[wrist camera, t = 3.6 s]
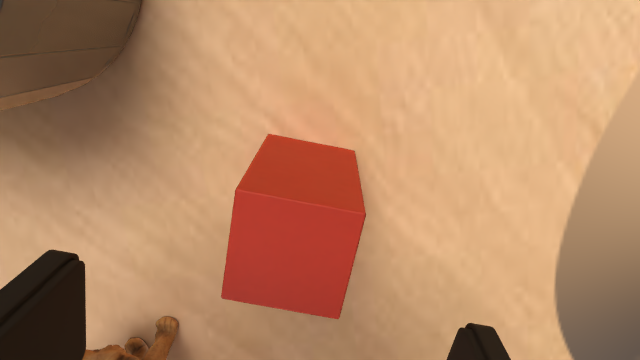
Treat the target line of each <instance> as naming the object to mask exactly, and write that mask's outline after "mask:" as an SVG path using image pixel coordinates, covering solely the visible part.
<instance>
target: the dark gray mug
mask: <svg viewBox="0 0 640 360" xmlns="http://www.w3.org/2000/svg"><path fill="white" fill-rule="evenodd" d="M141 1H142V0H0V111H1V110H5V109H9V108H13V107H17V106H21V105H25V104H29V103H32V102H36V101H40V100H44V99H48V98H52V97H56V96H59V95H62V94H64V93H66V92H68V91H71V90H74V89H76V88H78V87H80V86H82V85H84V84H86V83H88V82H90V81H91V80H92V79H94V78H95V77H97V76H98V75H100V74H101V73H102V72H103V71H104V70H105V69H106V68H107V67H109V66H110V65H111V64H112V63H113V61H114V60H115V59H116V57H117V56H118V55H119V54H120V52H121V51H122V50H123V48H124V46H125V44H126V43H127V41H128V39H129V37H130V36H131V33H132V31H133V28H134V25H135V23H136V20H137V18H138V13H139V9H140V5H141Z"/></svg>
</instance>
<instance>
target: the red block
mask: <svg viewBox="0 0 640 360" xmlns="http://www.w3.org/2000/svg"><path fill="white" fill-rule="evenodd" d="M365 216H366V212H365V207H364V201H363V196H362V190H361V184H360V179H359V173H358V168H357V162H356V157H355V151H353V150H348V149H343V148H338V147H333V146H327V145H322V144H317V143H312V142H307V141H302V140H297V139H292V138H287V137H282V136H277V135H271V134H268V136H267V137H266V139H265V141H264V142H263V144H262V146H261V147H260V149H259V151H258V153H257V154H256V156H255V158H254V159H253V161H252V163H251V164H250V166H249V168H248V170H247V171H246V173H245V175H244V176H243V178H242V180H241V181H240V183H239V185H238V187H237V188H236V190H235V198H234V205H233V213H232V220H231V227H230V235H229V242H228V250H227V257H226V265H225V272H224V280H223V287H222V295H221V297H222V299H227V300H233V301H239V302H244V303H250V304H255V305H261V306H266V307H272V308H278V309H283V310H289V311H294V312H300V313H306V314H311V315H317V316H322V317H328V318H334V319H339V317H340V313H341V310H342V306H343V302H344V298H345V294H346V290H347V286H348V282H349V279H350V275H351V271H352V267H353V263H354V259H355V255H356V251H357V247H358V244H359V240H360V236H361V232H362V228H363V224H364V220H365Z"/></svg>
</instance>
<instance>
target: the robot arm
mask: <svg viewBox="0 0 640 360" xmlns="http://www.w3.org/2000/svg"><path fill="white" fill-rule="evenodd" d="M85 350H86V309H85V264H84V262H83V261H79V257H78V255H77V254H74V253H68V252H63V251H57V250H49V251H47V252H46V253H44V254H43V255H42V256H41V257H40V258H38V259H37V260H36V261H35V262H33V263H32V264H31V265H30V266H29V267H27V268H26V269H25V270H24V271H23V272H21V273H20V274H19V275H18V276H17V277H15V278H14V279H13V280H12V281H10V282H9V283H8V284H7V285H6V286H4V287H3V288H2V289H1V290H0V360H82V359H83V357H84V354H85ZM447 360H511V359H510V357H509V355H508V353H507V352H506V350H505V348H504V346H503V344H502V342H501V340H500V338H499V336H498V335H497V333H496V331H495V329H494V328H492V327H490V326H484V325H479V324H473V323H468V324H467V325H466V327H465V328H460V329H459V330H458V332H457V334H456V337H455V340H454V342H453V345H452V347H451V350H450V352H449V355H448V357H447Z"/></svg>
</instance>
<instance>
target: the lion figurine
mask: <svg viewBox="0 0 640 360" xmlns="http://www.w3.org/2000/svg"><path fill="white" fill-rule="evenodd" d="M156 327H157V329H158V330H157V332H156V337H155V343H154V344H153V345H152V346H151V347H150V349H149V350H148V347H147V345H146V344H145V342H144V341H143V340H142V339H140V338H130V339H129V340H128V341H127V343H126V344H125V349H126V351H125V350H124V349H123V348H121V347H120V346H119V345H113V346H112V345H108V346H107V347H105V348H103V349H100V350H93V351H91V350H85V354H84V357H83V359H82V360H166V358H167V355H168V352H169V350H170V347H171V345H172V343H173V341H174V338H175V335H176V332H177V328H178V323H177V321H176V320H175V319H174V318H172V317H162V318H161V319H159V320H158V321H157V322H156Z"/></svg>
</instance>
